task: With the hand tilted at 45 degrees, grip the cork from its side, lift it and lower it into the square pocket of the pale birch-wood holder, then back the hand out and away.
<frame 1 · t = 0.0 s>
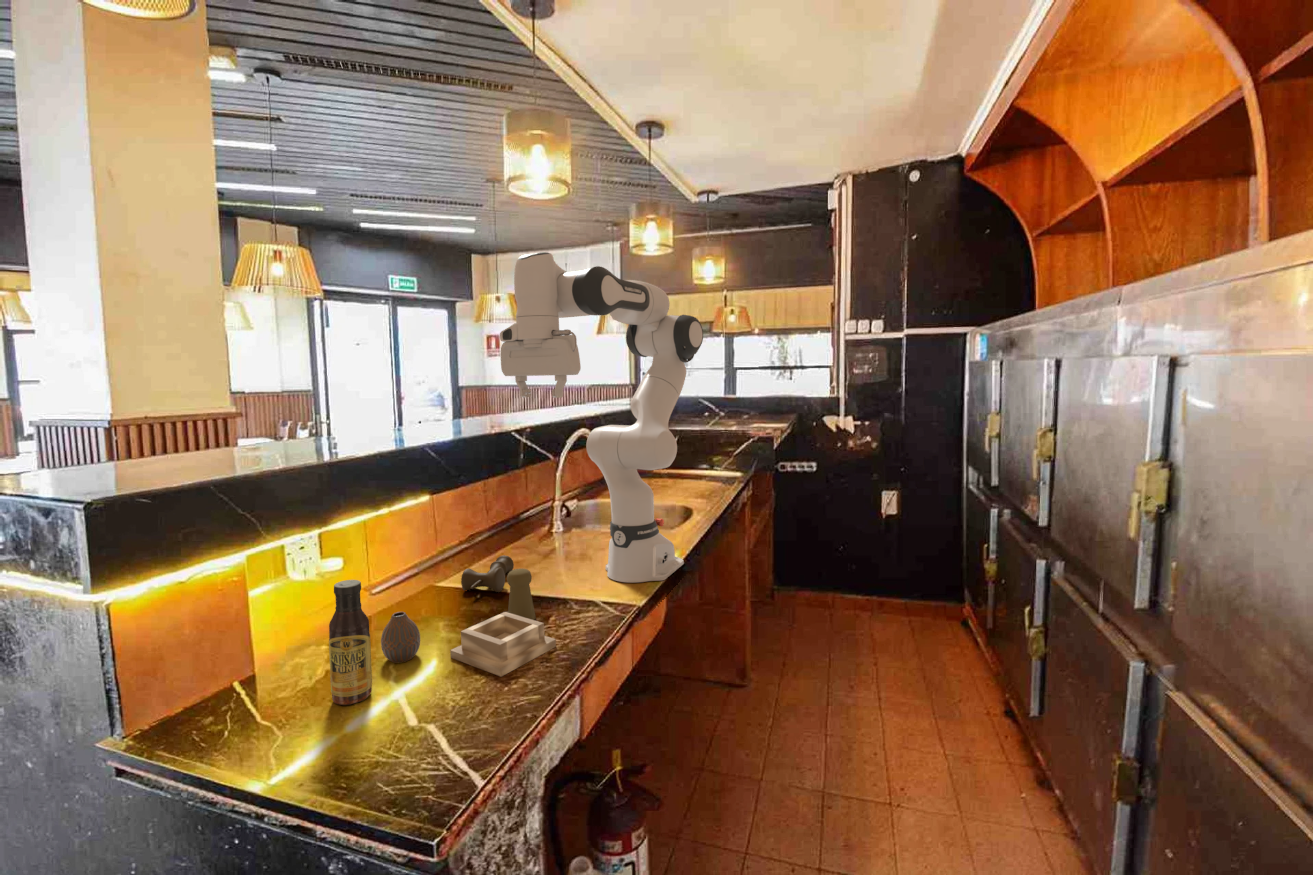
hand: (541, 397, 133), 48 cm above the counter, tool pointing down, fingers open, 8 cm apart
kendama: (490, 586, 158), on the counter
vase: (402, 659, 119), on the counter
cork: (521, 619, 136), on the counter
sauce bottle: (354, 698, 105), on the counter
shaker holder: (504, 651, 121), on the counter
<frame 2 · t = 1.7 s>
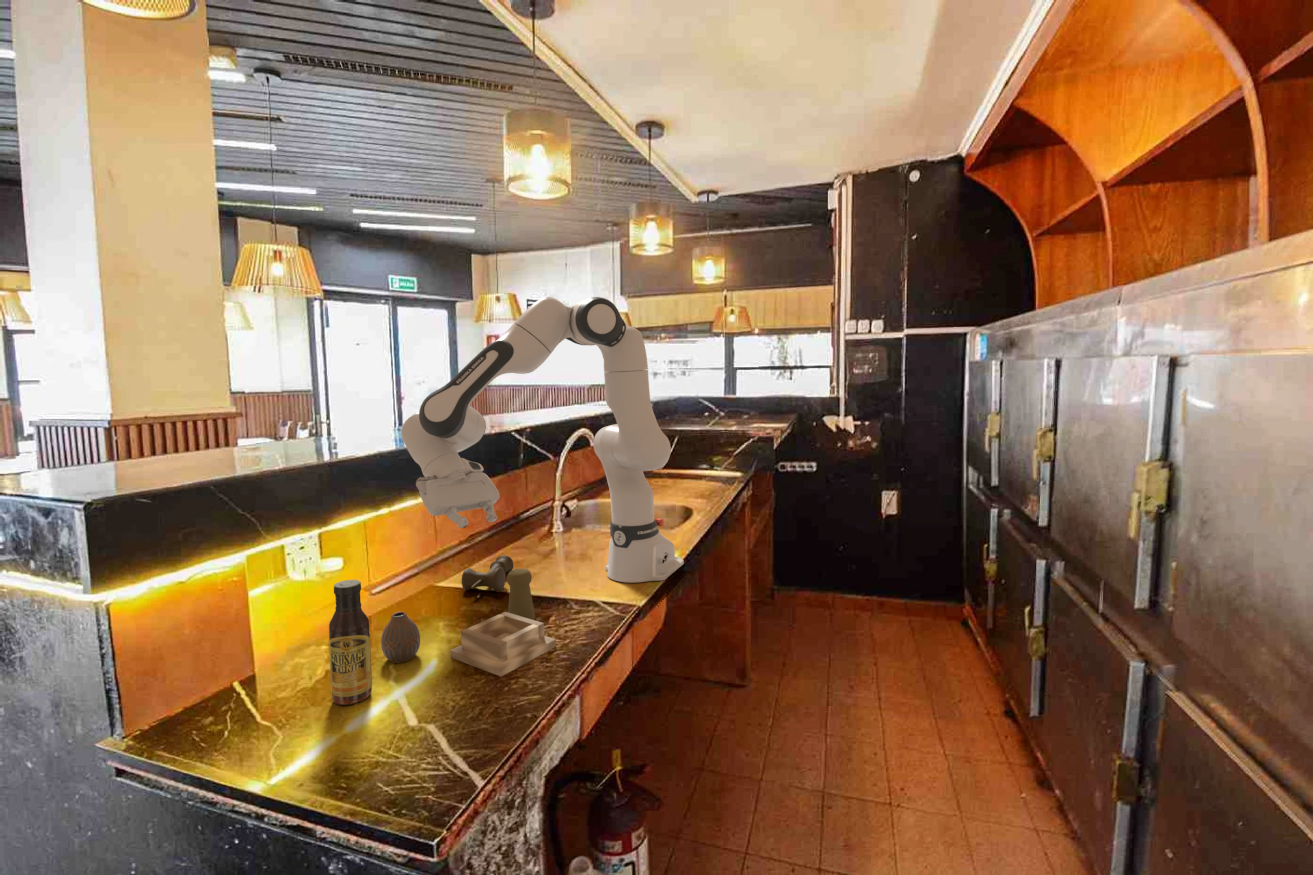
hand: (479, 523, 138), 20 cm above the counter, tool tilted 40°, fingers open, 8 cm apart
nothing on the counter moved.
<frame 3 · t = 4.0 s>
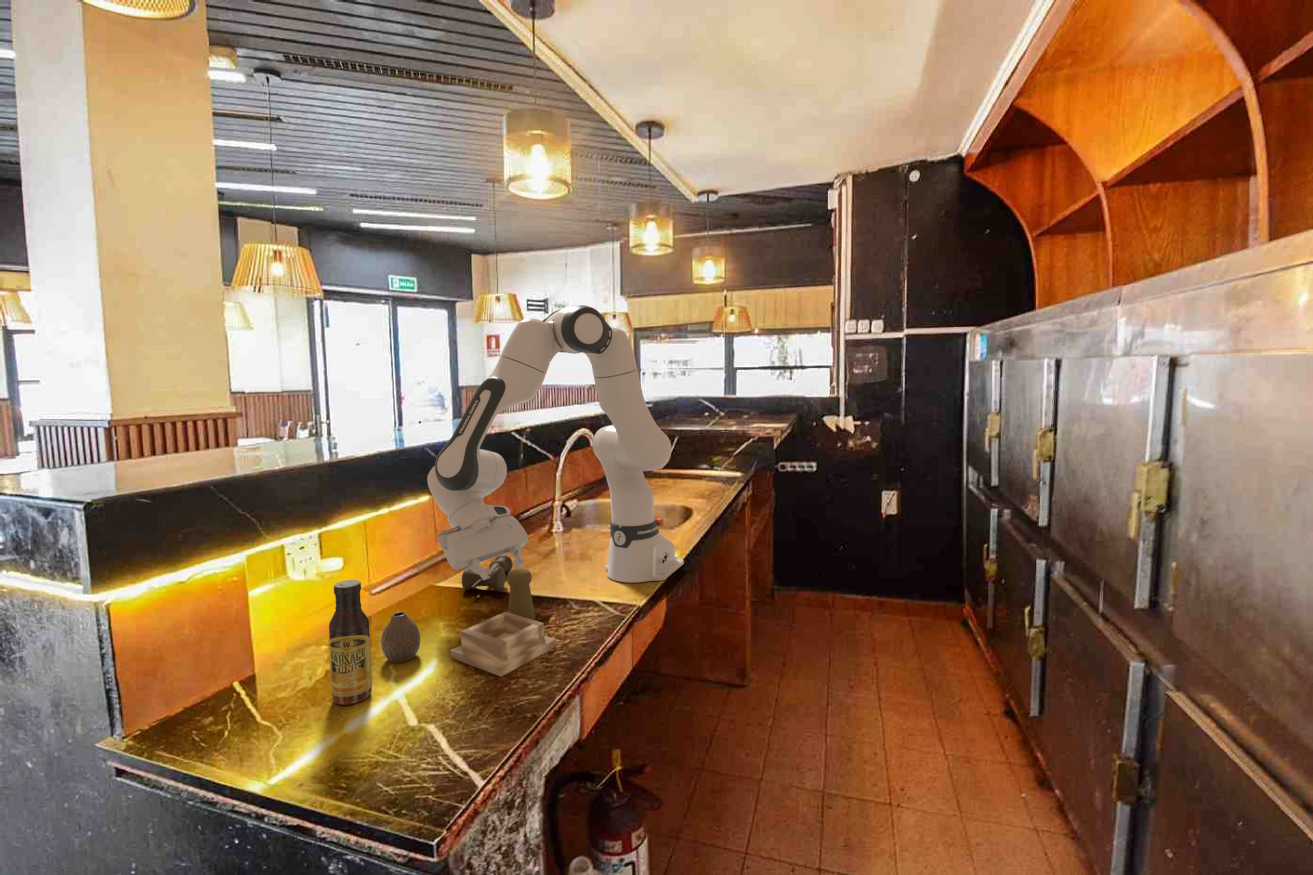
hand: (505, 571, 138), 10 cm above the counter, tool tilted 45°, fingers open, 8 cm apart
nothing on the counter moved.
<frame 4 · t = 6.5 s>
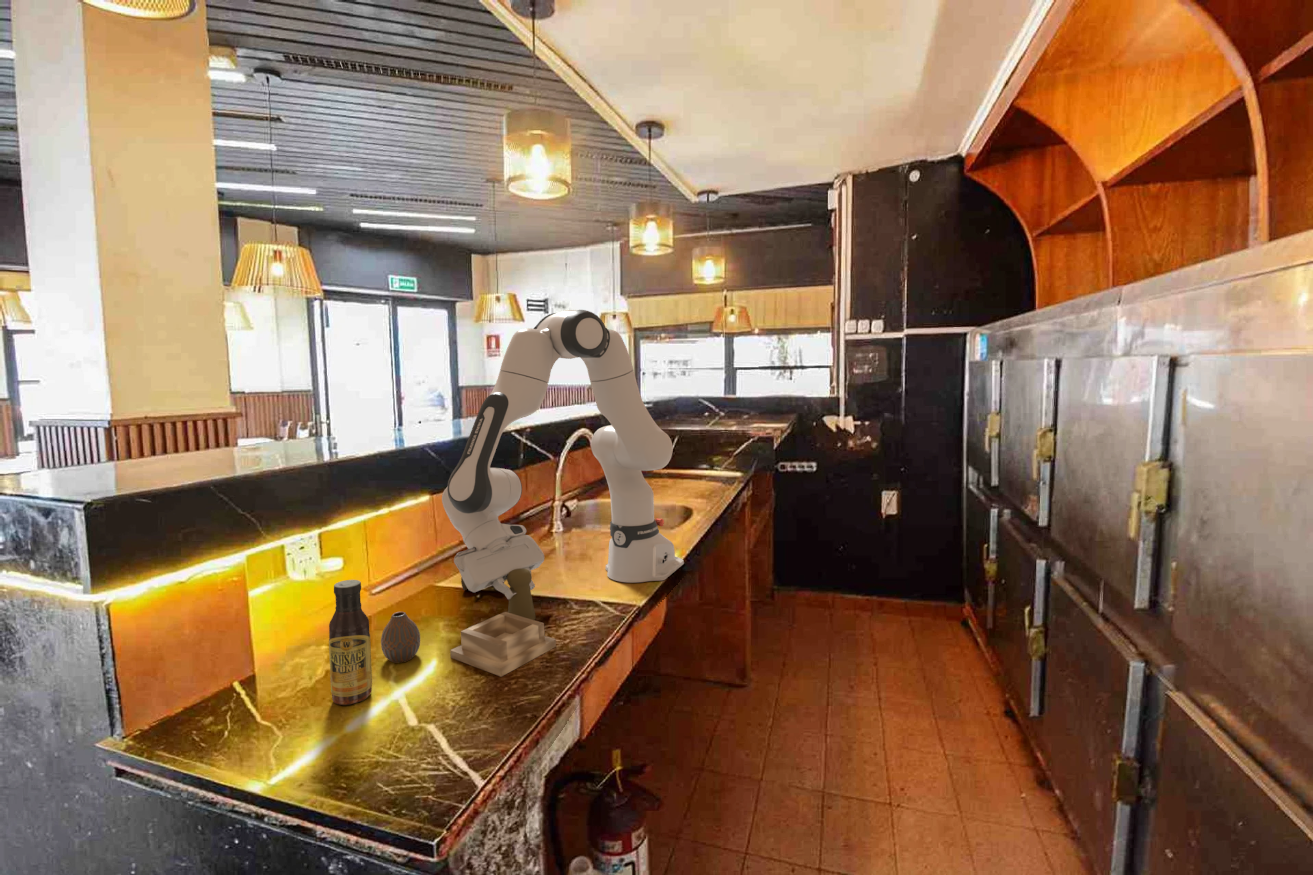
hand: (522, 592, 135), 6 cm above the counter, tool tilted 45°, fingers closed on cork, 4 cm apart
cork: (521, 619, 136), on the counter, touching gripper
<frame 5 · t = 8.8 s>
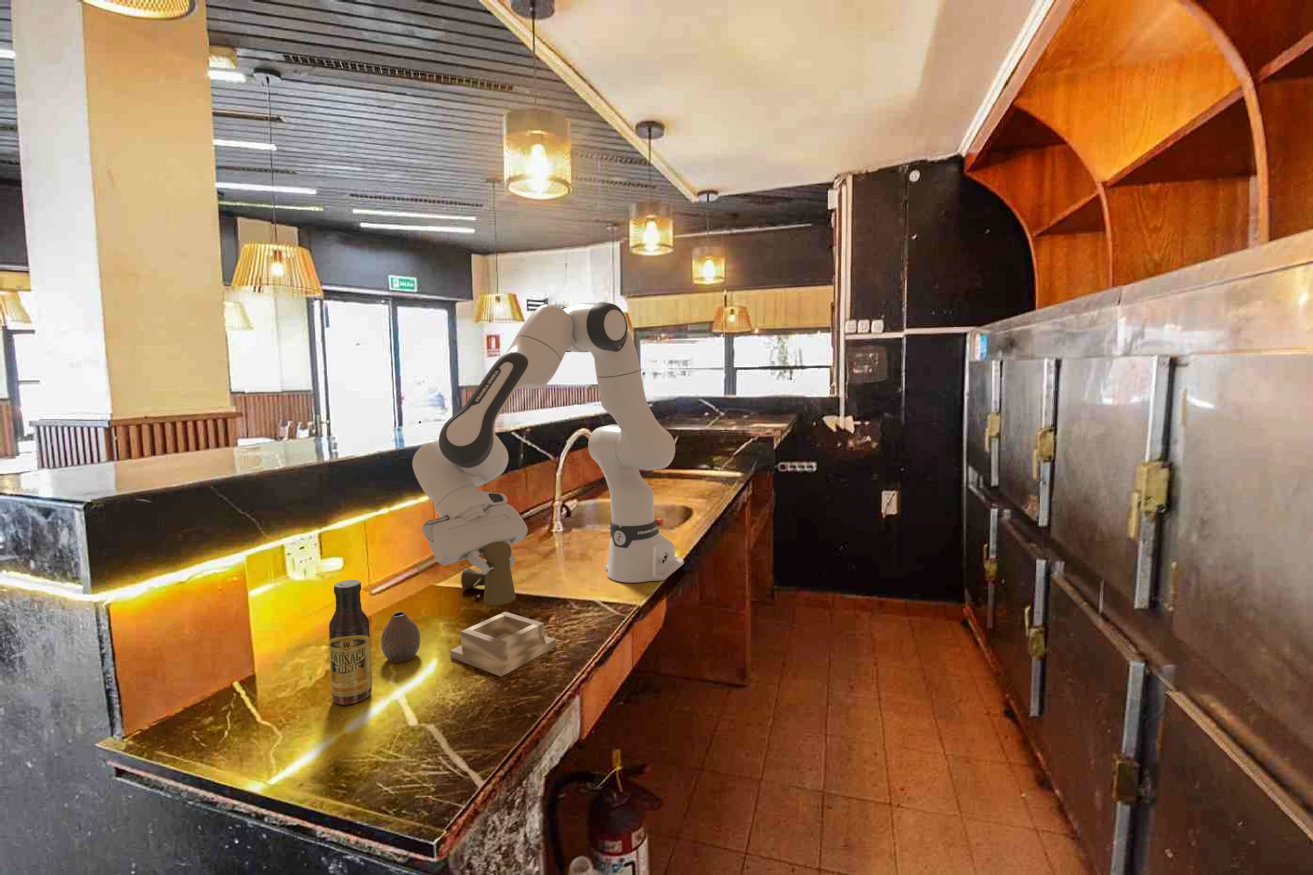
hand: (500, 567, 119), 17 cm above the counter, tool tilted 45°, fingers closed on cork, 4 cm apart
cork: (499, 599, 120), point 10 cm above the counter, touching gripper
when the fingers open (9 cm above the counter, at t = 11.4 s): cork drops 1 cm, resting on shaker holder.
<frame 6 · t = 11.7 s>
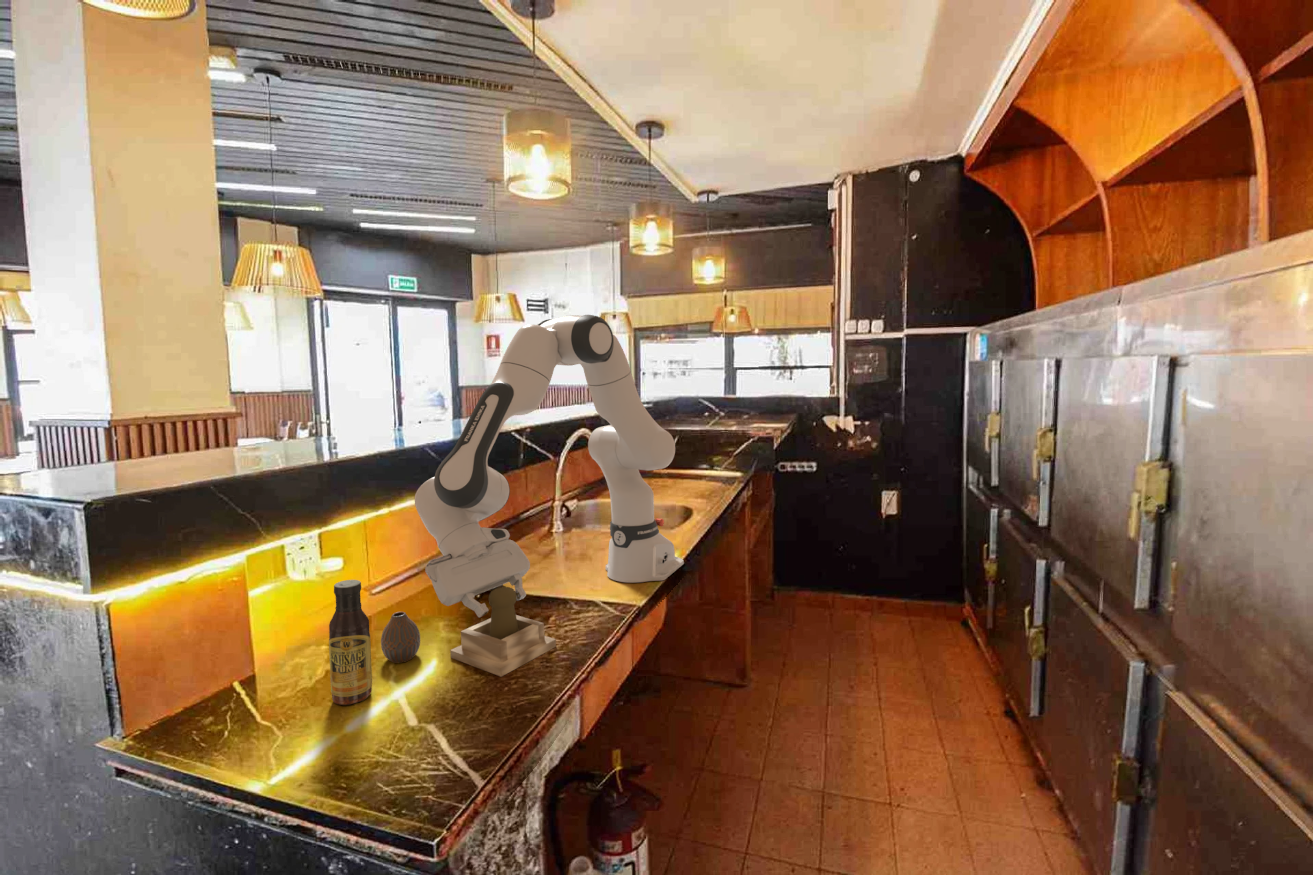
hand: (503, 605, 119), 9 cm above the counter, tool tilted 45°, fingers open, 8 cm apart
cork: (505, 644, 121), point 1 cm above the counter, touching shaker holder
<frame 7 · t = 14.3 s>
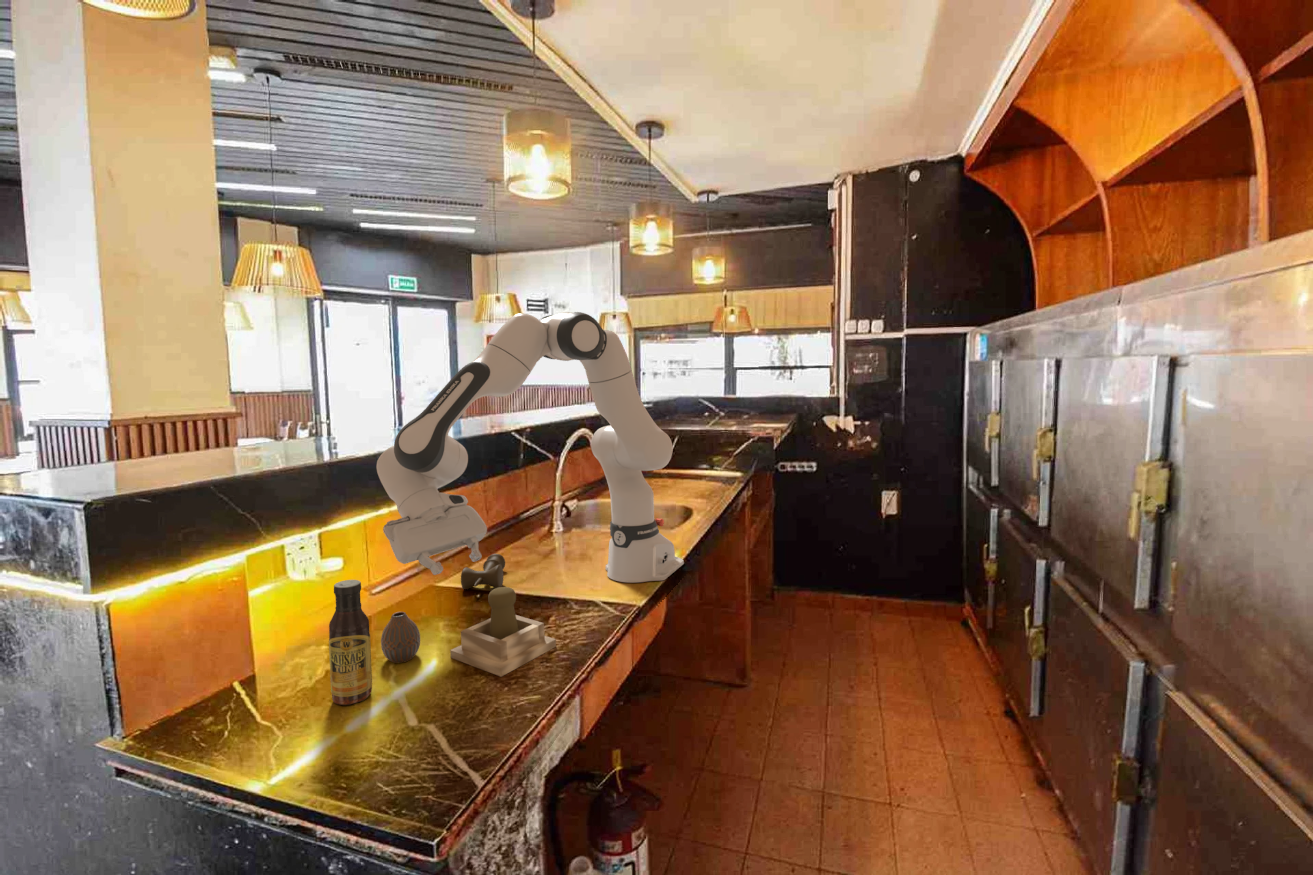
hand: (459, 565, 126), 15 cm above the counter, tool tilted 45°, fingers open, 8 cm apart
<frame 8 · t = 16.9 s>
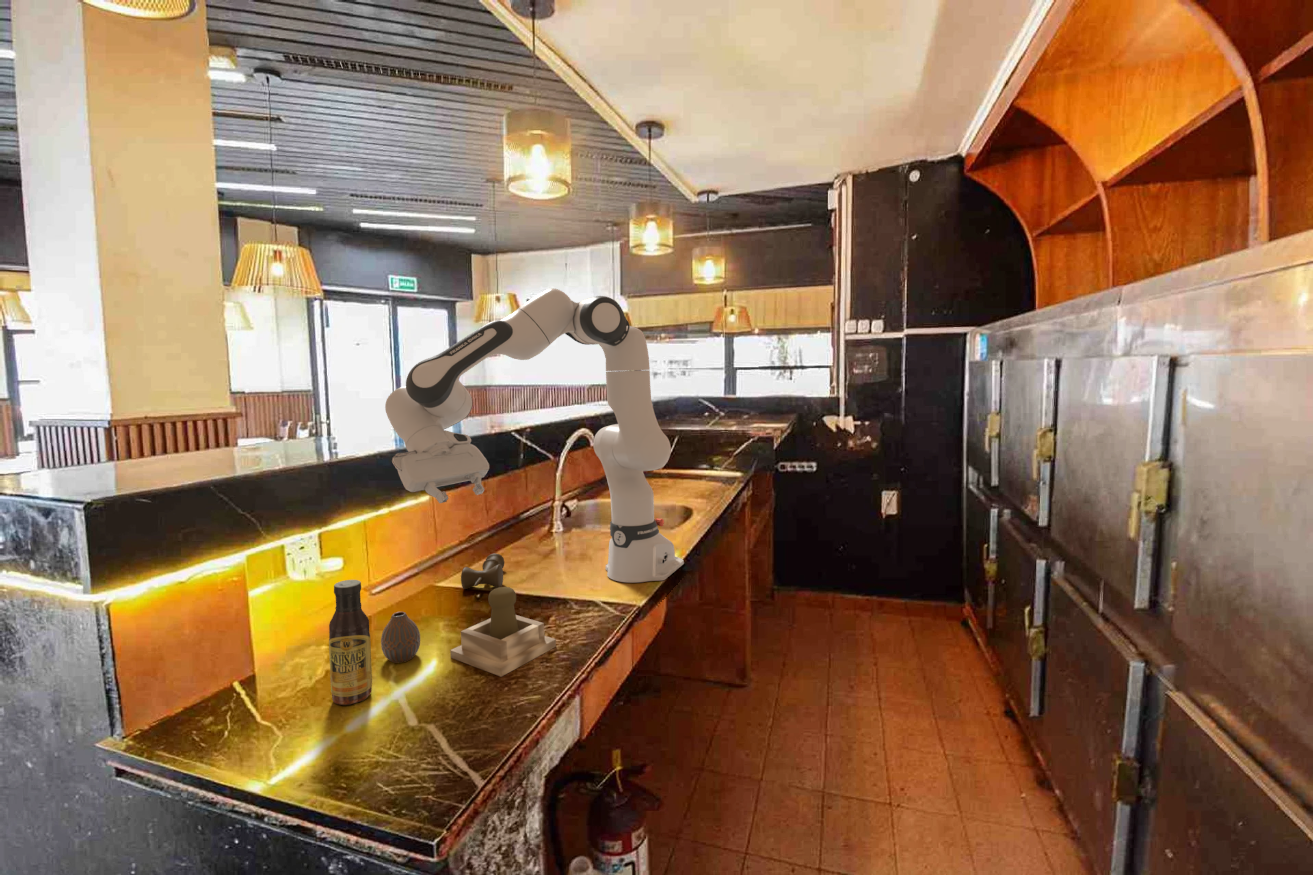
hand: (463, 496, 134), 27 cm above the counter, tool tilted 45°, fingers open, 8 cm apart
at the end: cork 0.3 cm off-centre on the shaker holder, point 1.3 cm above the shaker holder's base; cork tilted 0°; the gripper is holding nothing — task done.
